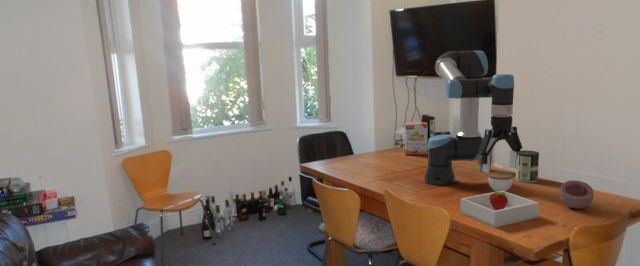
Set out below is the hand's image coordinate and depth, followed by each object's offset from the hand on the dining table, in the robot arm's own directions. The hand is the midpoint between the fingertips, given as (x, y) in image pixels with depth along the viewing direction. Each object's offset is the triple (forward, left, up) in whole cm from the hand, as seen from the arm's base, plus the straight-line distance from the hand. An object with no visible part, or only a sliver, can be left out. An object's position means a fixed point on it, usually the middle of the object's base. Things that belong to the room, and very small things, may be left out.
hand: (499, 169), depth 169 cm
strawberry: (0, 0, -18) cm, 18 cm away
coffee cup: (-55, +45, -19) cm, 73 cm away
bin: (0, 0, -18) cm, 18 cm away
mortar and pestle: (+8, +33, -19) cm, 39 cm away
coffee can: (-31, +50, -19) cm, 61 cm away
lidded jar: (-24, +25, -19) cm, 39 cm away
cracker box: (-108, +38, -19) cm, 116 cm away
